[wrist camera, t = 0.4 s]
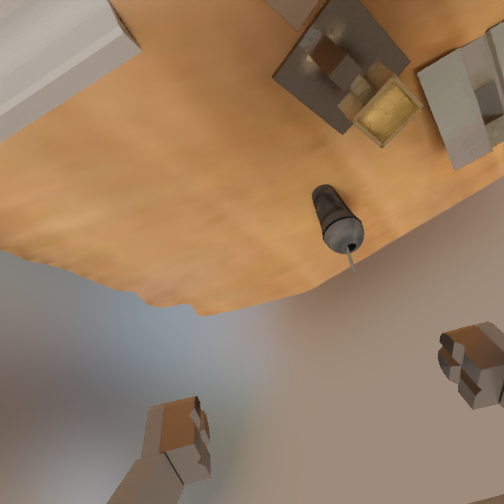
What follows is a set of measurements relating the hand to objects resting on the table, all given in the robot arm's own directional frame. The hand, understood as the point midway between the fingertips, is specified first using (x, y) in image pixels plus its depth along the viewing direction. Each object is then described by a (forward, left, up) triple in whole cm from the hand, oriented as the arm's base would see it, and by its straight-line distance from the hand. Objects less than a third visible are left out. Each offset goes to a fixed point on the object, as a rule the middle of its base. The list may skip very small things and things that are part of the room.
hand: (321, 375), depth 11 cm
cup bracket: (-6, +20, -48) cm, 53 cm away
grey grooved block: (-18, +40, -49) cm, 65 cm away
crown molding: (+20, -17, -49) cm, 56 cm away
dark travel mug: (+12, +35, -49) cm, 61 cm away
